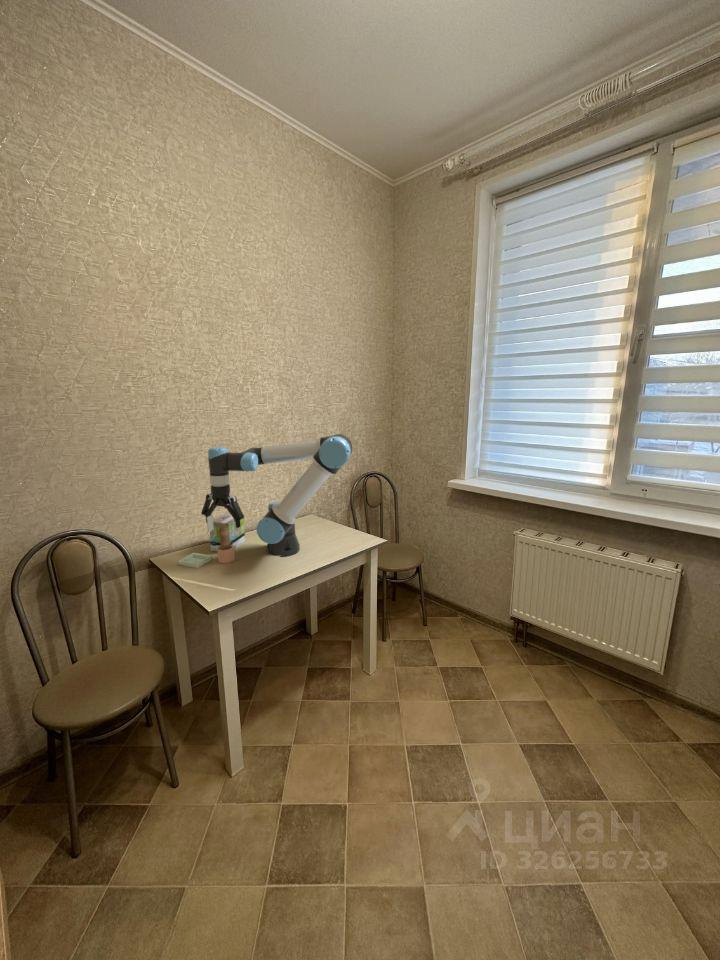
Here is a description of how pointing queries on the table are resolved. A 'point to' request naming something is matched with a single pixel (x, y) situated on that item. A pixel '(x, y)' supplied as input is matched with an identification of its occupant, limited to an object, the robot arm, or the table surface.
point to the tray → (195, 560)
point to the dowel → (224, 537)
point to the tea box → (228, 521)
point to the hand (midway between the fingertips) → (223, 532)
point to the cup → (226, 554)
